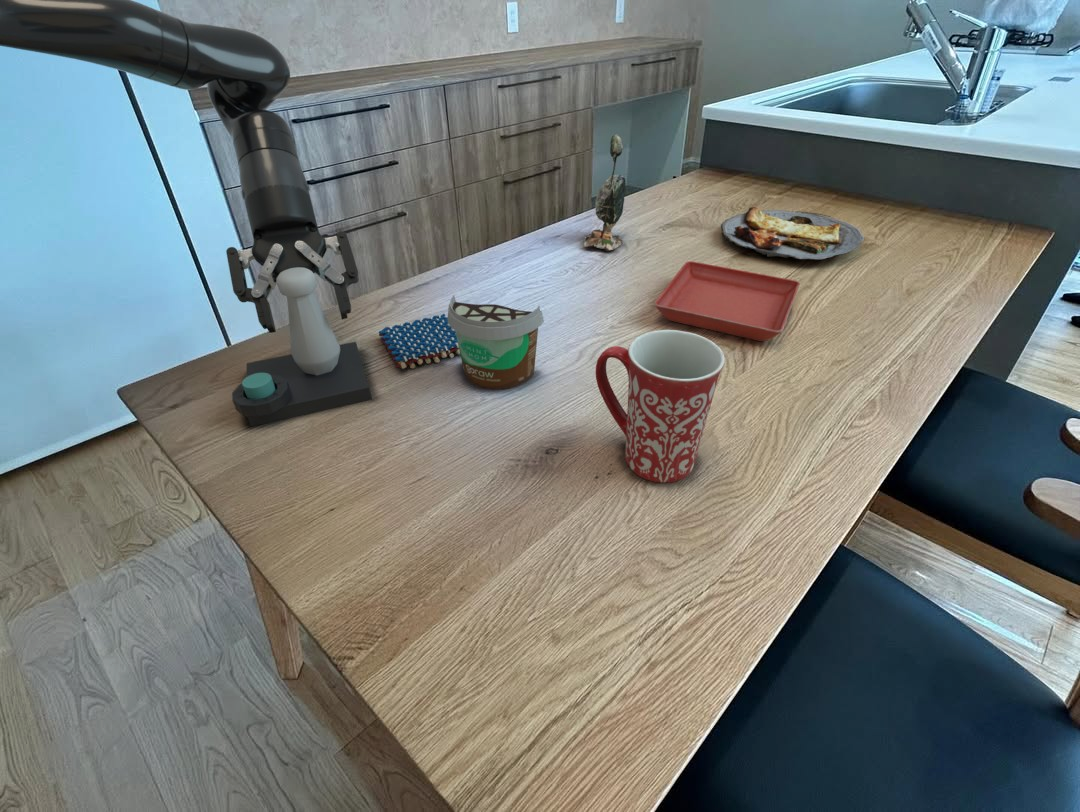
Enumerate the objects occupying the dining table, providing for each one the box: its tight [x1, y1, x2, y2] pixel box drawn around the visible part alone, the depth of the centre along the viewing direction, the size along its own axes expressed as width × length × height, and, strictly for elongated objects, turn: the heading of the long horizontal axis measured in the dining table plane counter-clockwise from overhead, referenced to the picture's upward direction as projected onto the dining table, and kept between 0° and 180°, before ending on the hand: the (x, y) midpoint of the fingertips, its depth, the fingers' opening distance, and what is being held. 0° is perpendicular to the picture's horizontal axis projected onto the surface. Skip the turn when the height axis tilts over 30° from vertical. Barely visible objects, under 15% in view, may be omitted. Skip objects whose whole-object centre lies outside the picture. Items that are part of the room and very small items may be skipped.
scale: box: [231, 341, 373, 427], centre depth 73 cm, size 15×13×4 cm
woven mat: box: [378, 313, 460, 370], centre depth 82 cm, size 10×11×2 cm
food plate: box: [720, 206, 865, 260], centre depth 111 cm, size 25×23×4 cm
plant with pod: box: [583, 133, 628, 252], centre depth 107 cm, size 8×11×20 cm
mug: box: [595, 329, 726, 483], centre depth 60 cm, size 13×9×14 cm
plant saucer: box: [653, 260, 801, 342], centre depth 89 cm, size 18×18×3 cm
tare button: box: [241, 373, 275, 400], centre depth 68 cm, size 3×3×2 cm
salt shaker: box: [276, 267, 341, 375], centre depth 71 cm, size 6×6×13 cm
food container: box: [447, 294, 545, 391], centre depth 73 cm, size 12×6×10 cm, turn 73°
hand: (308, 323), depth 70 cm, fingers open, 8 cm apart
